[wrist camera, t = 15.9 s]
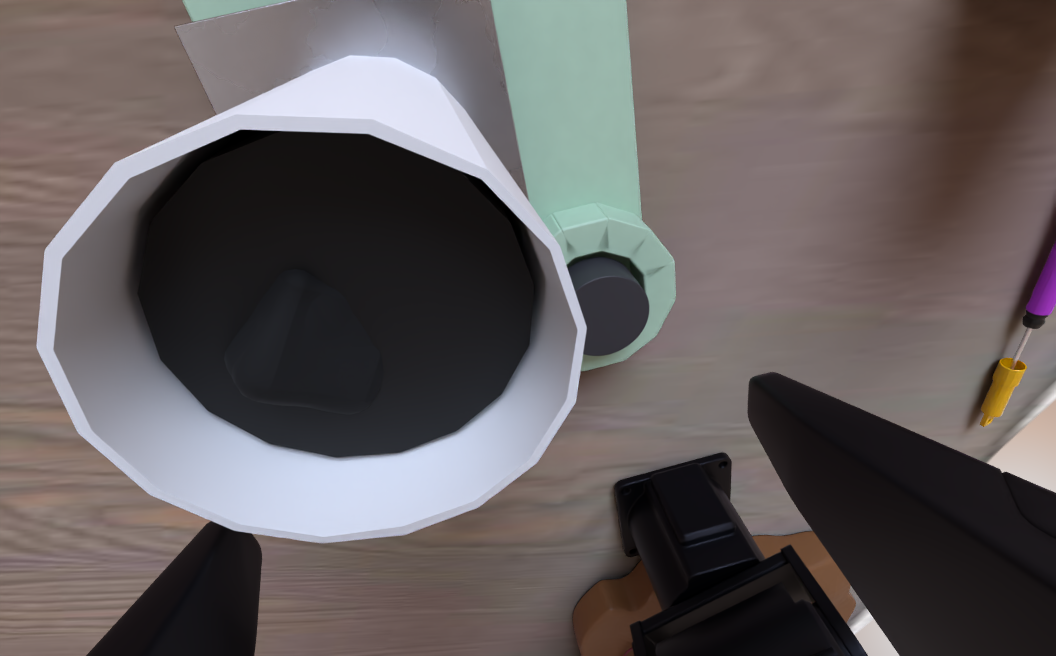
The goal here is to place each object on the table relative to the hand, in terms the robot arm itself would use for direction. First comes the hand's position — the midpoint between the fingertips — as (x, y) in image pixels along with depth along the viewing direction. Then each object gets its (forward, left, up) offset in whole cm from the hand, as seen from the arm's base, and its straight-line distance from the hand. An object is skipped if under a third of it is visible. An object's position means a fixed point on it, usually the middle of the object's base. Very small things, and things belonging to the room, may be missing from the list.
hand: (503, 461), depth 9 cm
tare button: (-3, -4, -10) cm, 11 cm away
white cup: (+3, +2, -10) cm, 10 cm away
